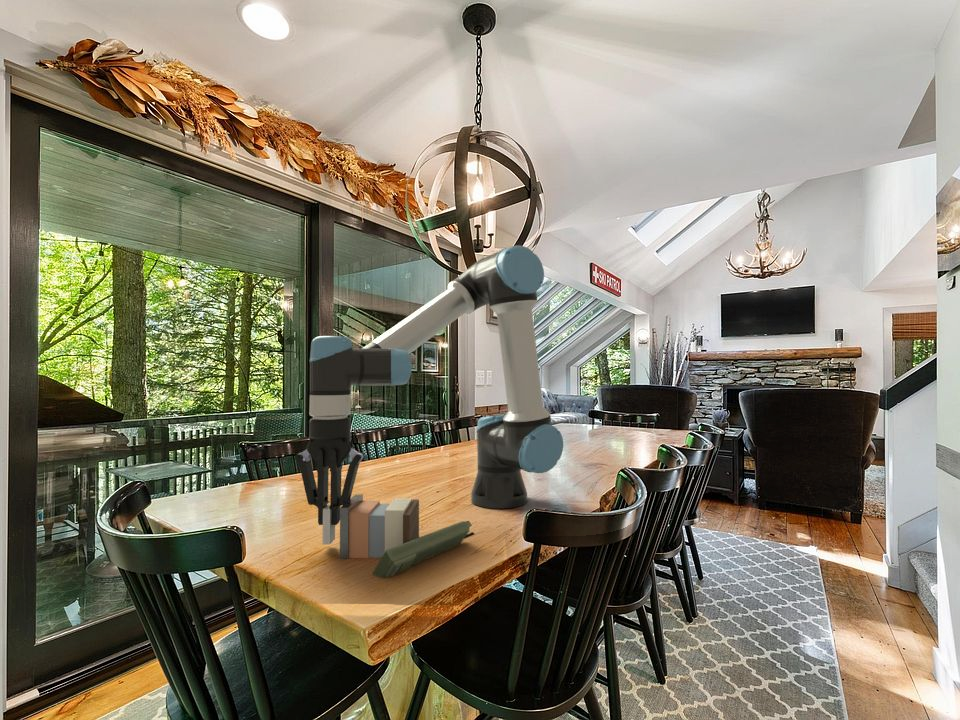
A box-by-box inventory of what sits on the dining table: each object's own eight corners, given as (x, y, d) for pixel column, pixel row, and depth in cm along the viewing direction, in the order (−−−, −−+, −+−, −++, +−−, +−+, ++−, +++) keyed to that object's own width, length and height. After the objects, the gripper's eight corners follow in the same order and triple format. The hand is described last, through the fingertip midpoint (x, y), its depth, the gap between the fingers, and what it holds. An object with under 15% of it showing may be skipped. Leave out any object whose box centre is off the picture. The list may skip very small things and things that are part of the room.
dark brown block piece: (419, 545, 89) (418, 499, 89) (409, 567, 79) (409, 515, 79) (314, 545, 90) (315, 499, 90) (292, 566, 80) (293, 514, 80)
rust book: (379, 541, 88) (379, 500, 89) (368, 558, 80) (368, 513, 81) (361, 541, 88) (362, 500, 89) (348, 558, 80) (349, 513, 81)
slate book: (394, 542, 88) (394, 503, 88) (385, 557, 81) (385, 515, 81) (379, 542, 88) (379, 503, 88) (368, 557, 81) (368, 515, 81)
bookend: (362, 540, 89) (362, 494, 89) (348, 558, 80) (348, 507, 80) (355, 540, 89) (355, 494, 89) (339, 558, 80) (340, 507, 80)
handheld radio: (367, 573, 75) (465, 532, 94) (377, 590, 73) (475, 545, 92) (383, 547, 72) (480, 510, 92) (394, 563, 71) (490, 523, 90)
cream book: (412, 541, 88) (412, 498, 88) (404, 558, 80) (404, 510, 80) (394, 541, 88) (394, 498, 89) (384, 558, 80) (384, 510, 81)
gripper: (369, 415, 89) (368, 535, 88) (305, 415, 89) (303, 534, 89) (357, 419, 82) (356, 549, 81) (287, 418, 82) (286, 548, 81)
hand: (328, 541), depth 85 cm, fingers closed
